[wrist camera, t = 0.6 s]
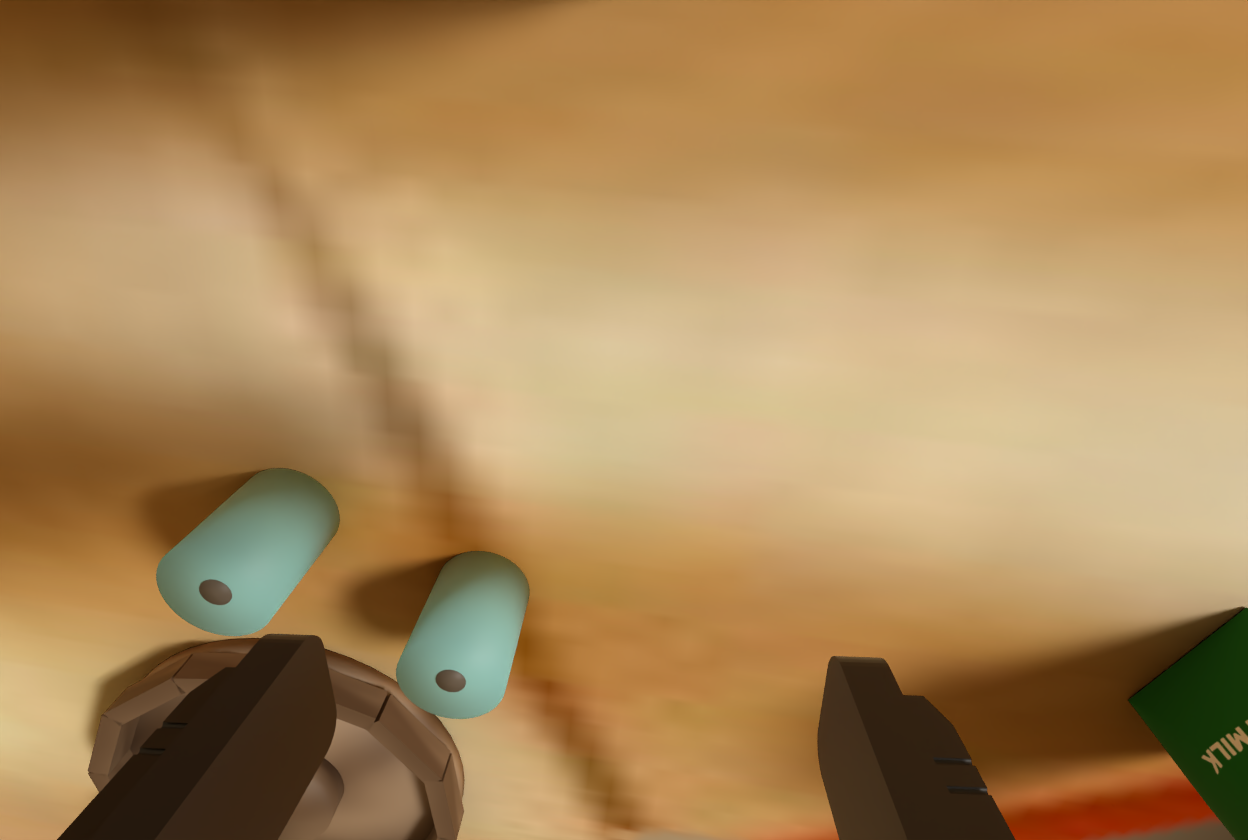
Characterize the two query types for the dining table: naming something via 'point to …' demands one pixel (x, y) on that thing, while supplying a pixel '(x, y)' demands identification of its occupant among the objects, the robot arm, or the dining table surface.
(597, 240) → the dining table surface
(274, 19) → the dining table surface
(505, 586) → the bead
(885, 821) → the robot arm
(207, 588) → the bead
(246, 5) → the dining table surface
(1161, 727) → the milk carton
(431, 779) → the ring tray
